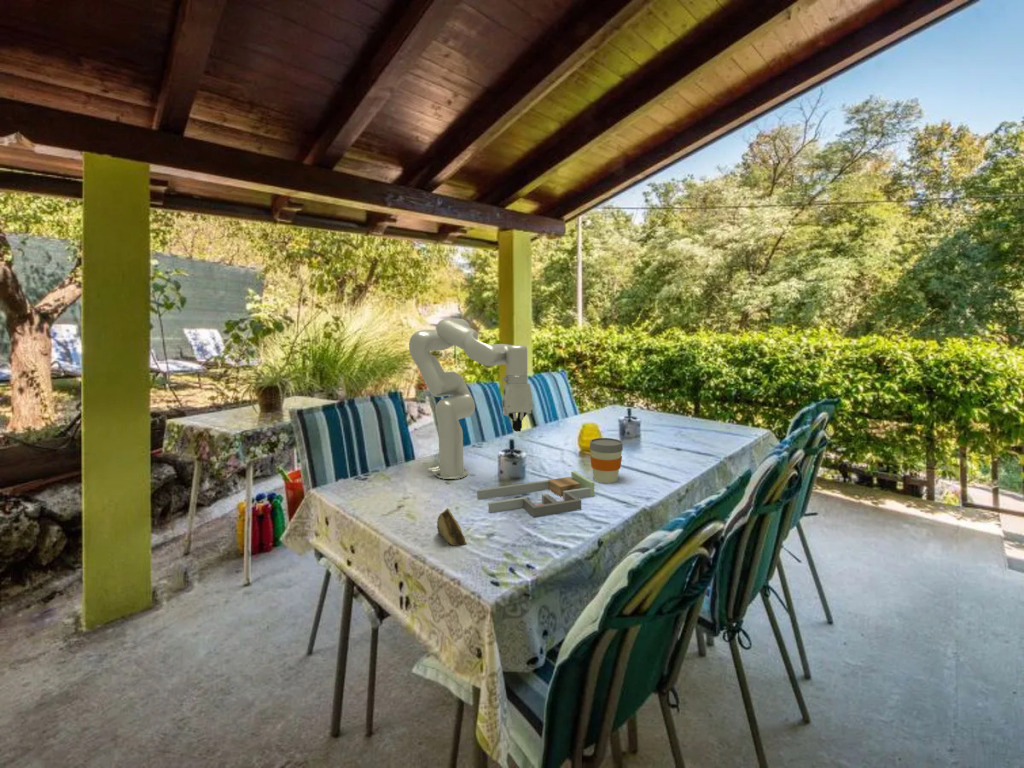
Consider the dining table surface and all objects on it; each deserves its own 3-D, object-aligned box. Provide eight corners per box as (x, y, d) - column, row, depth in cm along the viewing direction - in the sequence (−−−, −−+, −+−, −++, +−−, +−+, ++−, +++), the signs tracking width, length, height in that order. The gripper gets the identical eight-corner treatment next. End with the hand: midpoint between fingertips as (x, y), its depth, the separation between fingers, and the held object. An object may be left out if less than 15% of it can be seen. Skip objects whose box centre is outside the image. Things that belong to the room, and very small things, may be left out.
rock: (428, 524, 138) (426, 534, 128) (445, 500, 139) (444, 508, 129) (458, 545, 139) (458, 556, 129) (475, 520, 140) (477, 530, 130)
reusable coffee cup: (623, 476, 187) (624, 439, 186) (620, 486, 176) (621, 447, 174) (592, 473, 192) (592, 436, 190) (586, 482, 180) (586, 444, 178)
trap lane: (498, 523, 144) (498, 507, 143) (477, 498, 165) (476, 484, 164) (607, 504, 158) (607, 490, 157) (574, 483, 179) (574, 471, 178)
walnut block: (560, 497, 165) (560, 486, 165) (549, 490, 173) (549, 480, 172) (579, 494, 169) (579, 483, 168) (567, 487, 176) (568, 476, 175)
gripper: (500, 382, 161) (501, 435, 164) (540, 380, 167) (540, 431, 169) (493, 380, 168) (494, 430, 170) (531, 377, 174) (532, 427, 176)
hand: (517, 430), depth 170 cm, fingers closed
